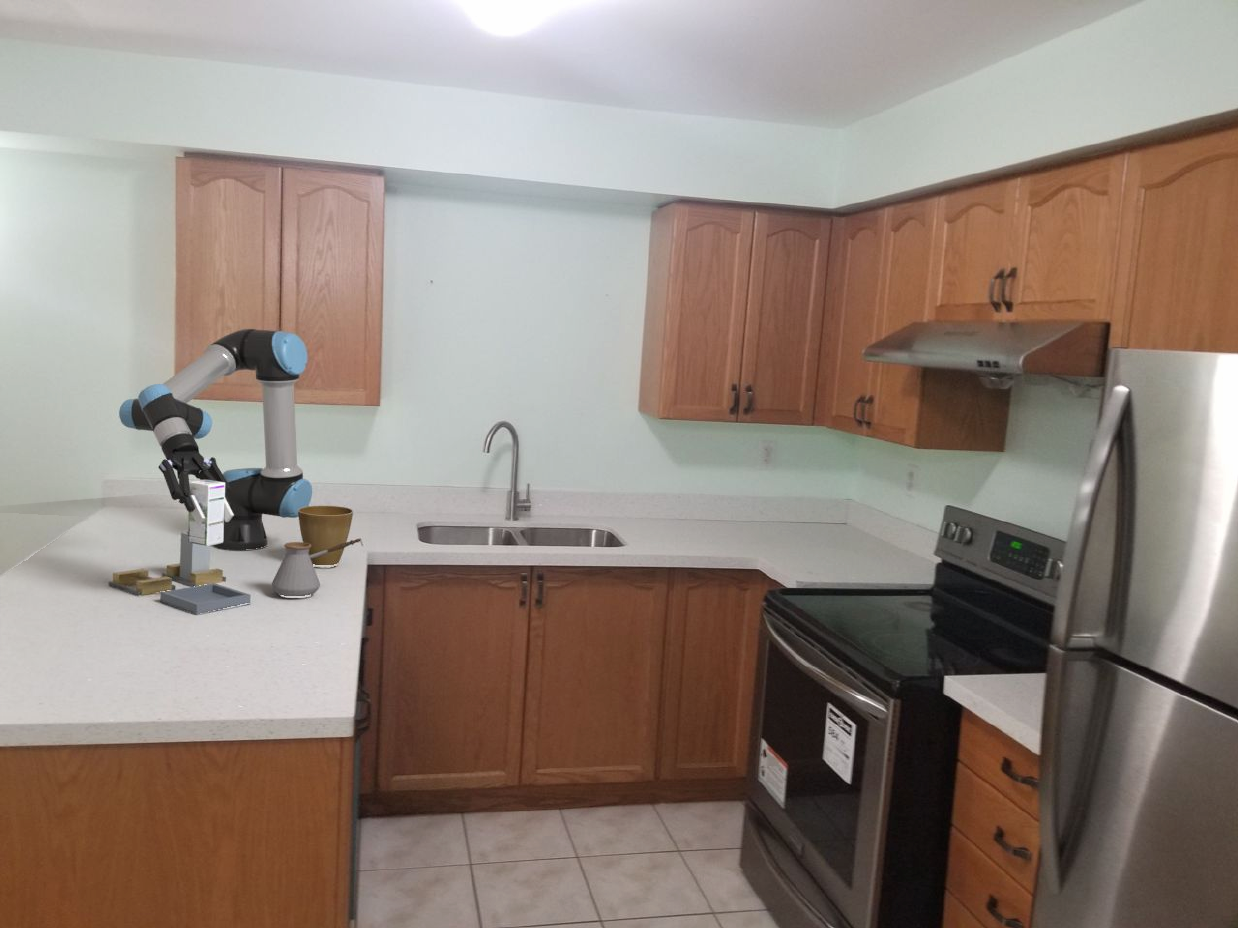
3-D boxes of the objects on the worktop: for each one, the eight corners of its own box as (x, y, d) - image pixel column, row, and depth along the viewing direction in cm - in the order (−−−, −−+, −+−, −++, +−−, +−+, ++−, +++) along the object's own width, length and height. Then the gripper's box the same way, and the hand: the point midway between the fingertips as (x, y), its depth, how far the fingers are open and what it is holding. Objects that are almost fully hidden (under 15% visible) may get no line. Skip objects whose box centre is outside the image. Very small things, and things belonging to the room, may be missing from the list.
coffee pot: (268, 600, 239) (271, 540, 237) (273, 589, 250) (276, 530, 248) (359, 602, 244) (363, 543, 242) (360, 591, 255) (364, 533, 253)
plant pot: (312, 557, 287) (314, 503, 285) (359, 563, 284) (362, 509, 283) (284, 567, 273) (287, 510, 271) (334, 574, 270) (337, 516, 268)
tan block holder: (146, 579, 249) (146, 568, 248) (175, 589, 242) (175, 577, 242) (108, 585, 241) (109, 573, 240) (137, 595, 234) (138, 583, 234)
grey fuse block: (197, 576, 256) (198, 526, 255) (209, 579, 254) (210, 530, 252) (179, 578, 252) (181, 528, 251) (191, 582, 249) (193, 532, 248)
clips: (196, 571, 260) (197, 560, 260) (225, 581, 254) (226, 569, 253) (162, 577, 252) (162, 565, 252) (191, 586, 246) (192, 575, 245)
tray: (213, 592, 242) (214, 583, 242) (250, 604, 234) (250, 594, 234) (160, 602, 230) (160, 592, 230) (196, 615, 223) (197, 604, 223)
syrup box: (224, 542, 233) (226, 481, 231) (206, 546, 227) (208, 484, 225) (204, 539, 234) (207, 478, 233) (186, 542, 229) (188, 481, 227)
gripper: (206, 449, 245) (245, 525, 238) (130, 452, 229) (169, 533, 222) (220, 430, 242) (259, 506, 235) (144, 432, 225) (183, 514, 218)
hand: (215, 519), depth 228 cm, fingers closed on syrup box, 7 cm apart
